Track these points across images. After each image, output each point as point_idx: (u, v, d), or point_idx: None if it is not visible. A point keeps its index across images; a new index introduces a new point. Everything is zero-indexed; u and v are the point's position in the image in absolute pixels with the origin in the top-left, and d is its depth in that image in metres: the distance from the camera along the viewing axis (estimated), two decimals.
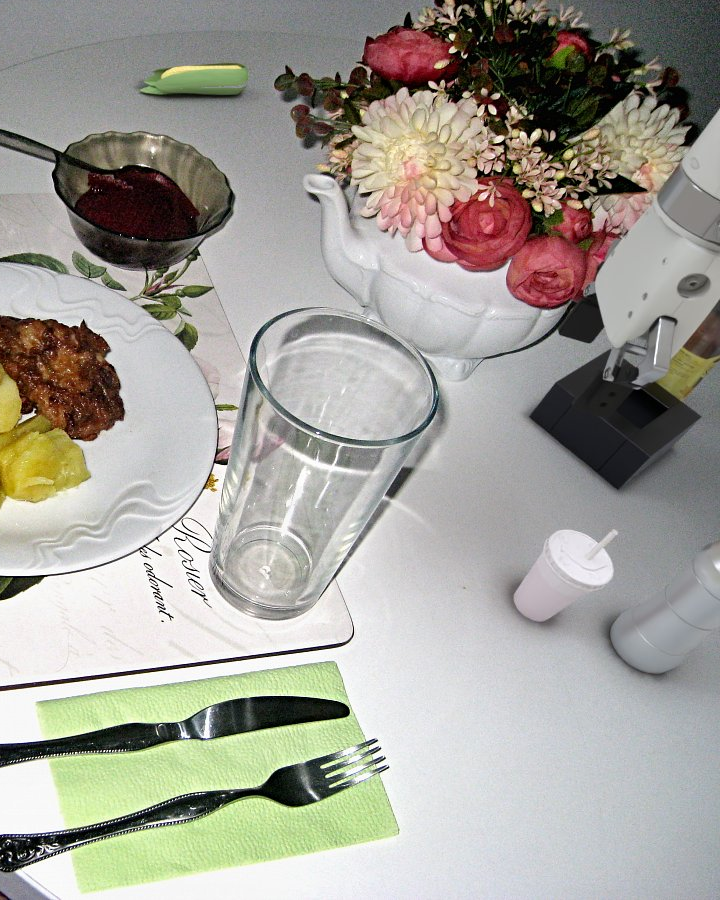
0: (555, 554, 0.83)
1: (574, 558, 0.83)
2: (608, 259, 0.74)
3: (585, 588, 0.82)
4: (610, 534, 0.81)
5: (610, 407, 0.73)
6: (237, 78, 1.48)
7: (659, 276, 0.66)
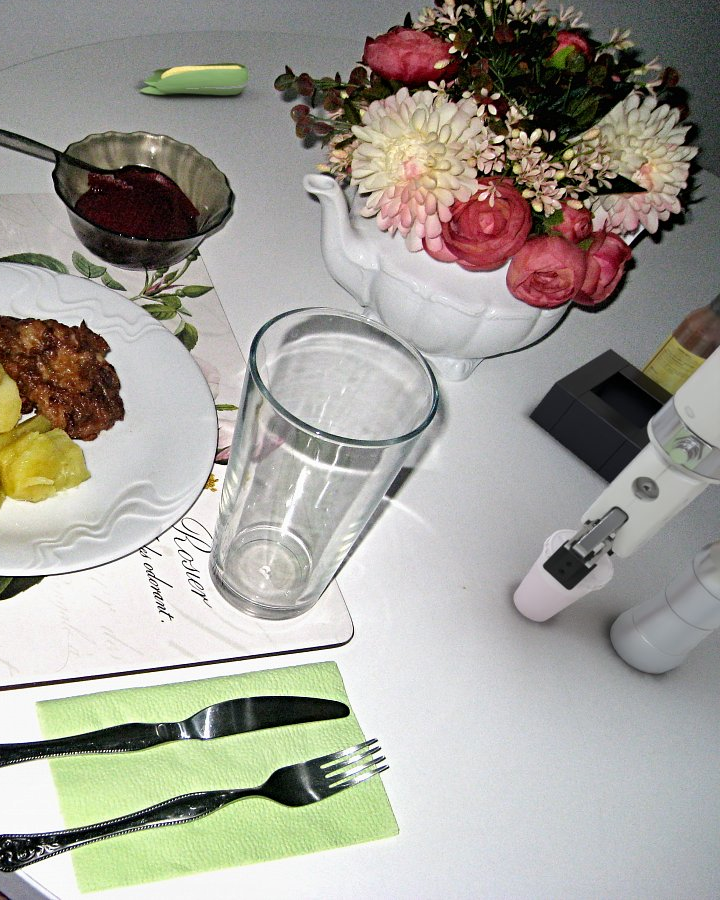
0: None
1: None
2: None
3: (585, 588, 0.82)
4: (610, 534, 0.81)
5: (567, 577, 0.80)
6: (237, 78, 1.48)
7: (624, 471, 0.73)
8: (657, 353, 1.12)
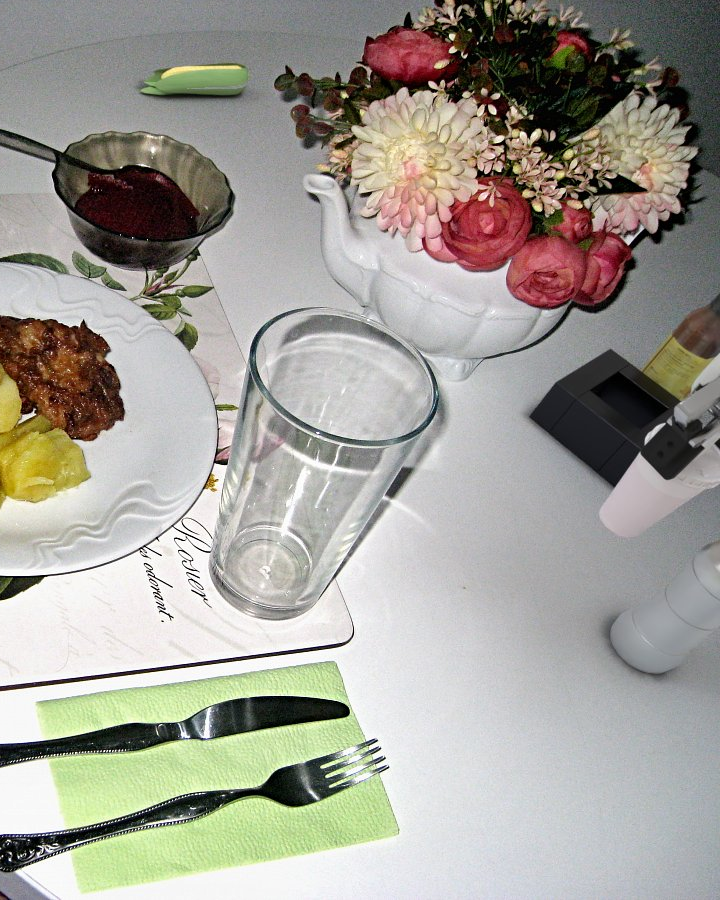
0: None
1: None
2: None
3: (689, 484, 0.71)
4: None
5: (666, 461, 0.70)
6: (237, 78, 1.48)
7: None
8: (657, 353, 1.12)
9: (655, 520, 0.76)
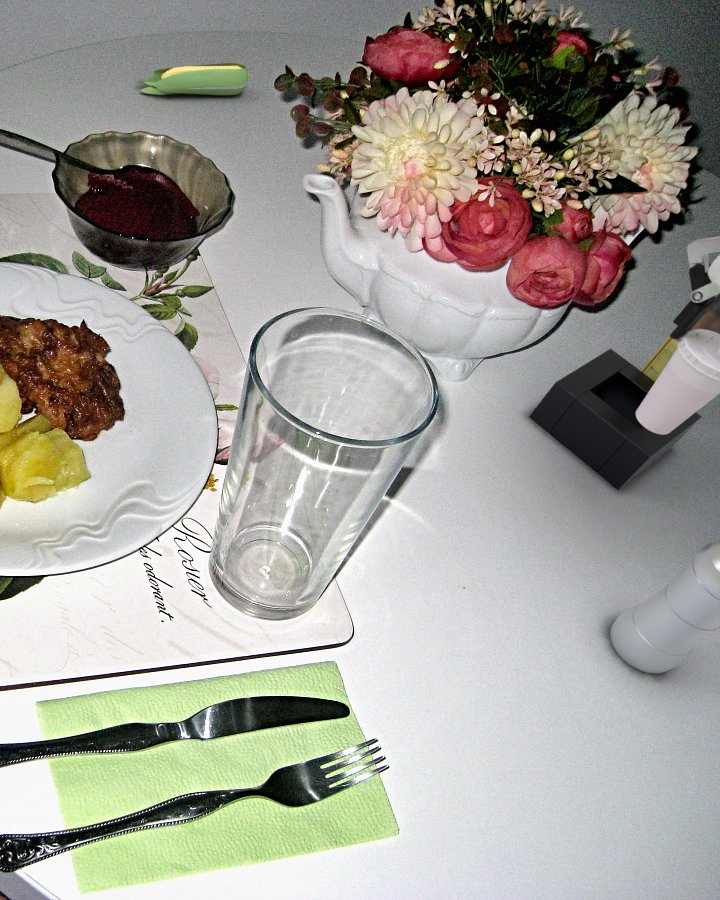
0: (703, 332, 0.85)
1: (709, 343, 0.84)
2: None
3: (682, 352, 0.83)
4: None
5: (677, 316, 0.84)
6: (237, 78, 1.48)
7: None
8: (657, 353, 1.12)
9: (658, 404, 0.87)
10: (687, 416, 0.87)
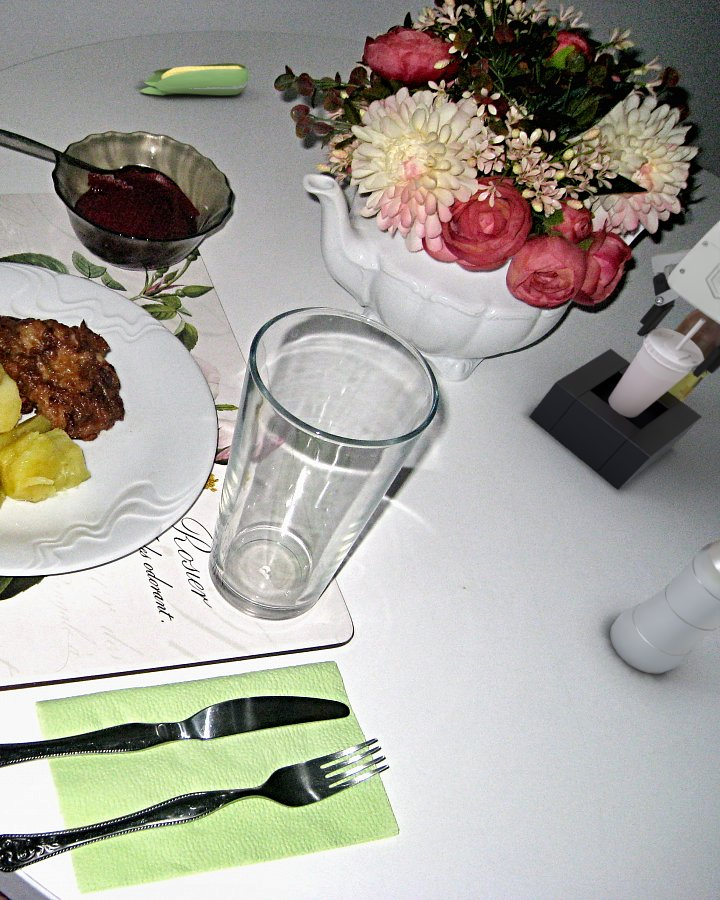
0: (665, 330, 1.01)
1: (670, 339, 1.00)
2: None
3: (646, 347, 0.99)
4: (699, 320, 0.96)
5: (643, 317, 1.00)
6: (237, 78, 1.48)
7: None
8: None
9: (627, 391, 1.03)
10: (651, 401, 1.03)
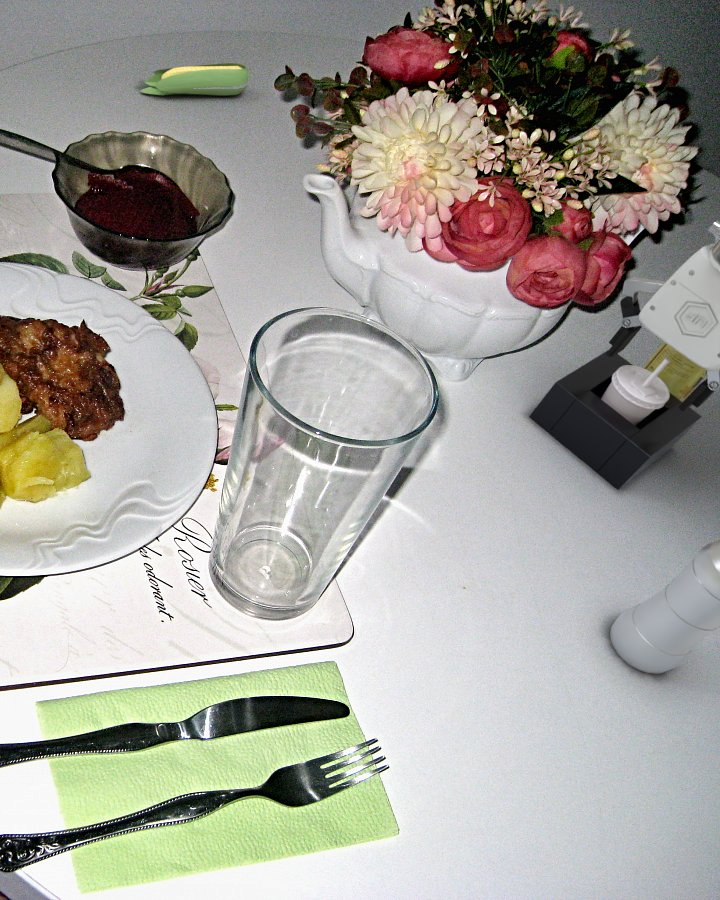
0: (633, 367, 1.05)
1: (637, 377, 1.04)
2: None
3: (614, 384, 1.04)
4: (664, 360, 1.00)
5: (612, 338, 1.04)
6: (237, 78, 1.48)
7: None
8: (657, 353, 1.12)
9: None
10: None
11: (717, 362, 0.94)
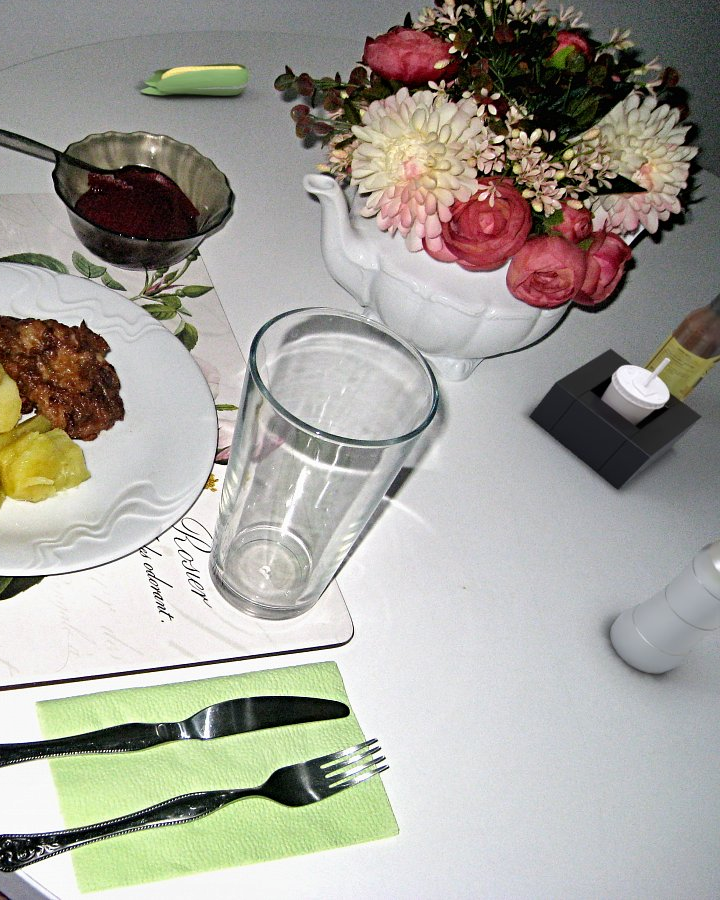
0: (633, 367, 1.05)
1: (637, 377, 1.04)
2: None
3: (614, 384, 1.04)
4: (664, 360, 1.00)
5: None
6: (237, 79, 1.48)
7: None
8: (657, 353, 1.12)
9: None
10: None
11: None
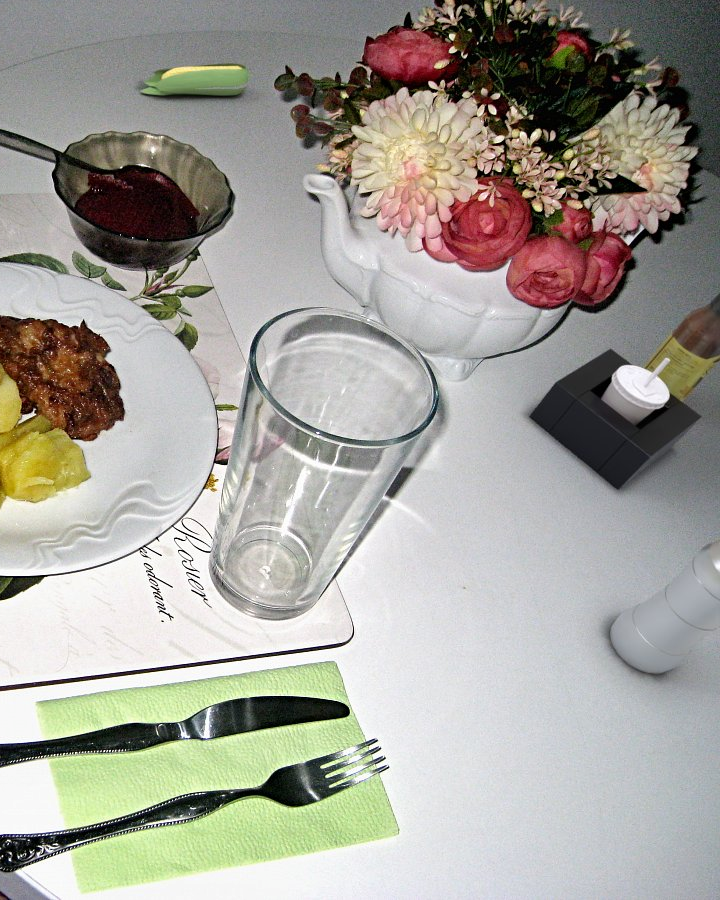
0: (633, 367, 1.05)
1: (637, 377, 1.04)
2: None
3: (614, 384, 1.04)
4: (664, 360, 1.00)
5: None
6: (237, 79, 1.48)
7: None
8: (657, 353, 1.12)
9: None
10: None
11: None
